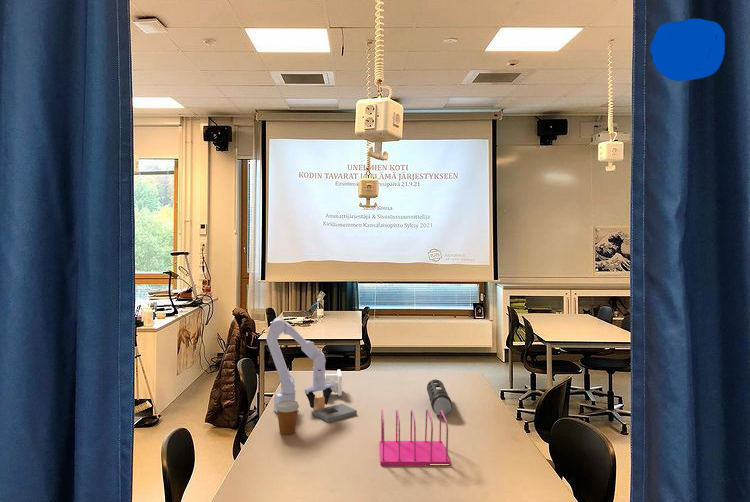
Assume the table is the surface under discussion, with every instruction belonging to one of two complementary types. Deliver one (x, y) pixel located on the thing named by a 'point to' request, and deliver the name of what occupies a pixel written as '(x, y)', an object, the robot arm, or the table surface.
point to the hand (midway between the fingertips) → (318, 405)
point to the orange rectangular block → (319, 402)
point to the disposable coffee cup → (287, 416)
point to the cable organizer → (334, 382)
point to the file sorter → (413, 447)
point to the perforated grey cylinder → (439, 397)
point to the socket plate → (335, 412)
